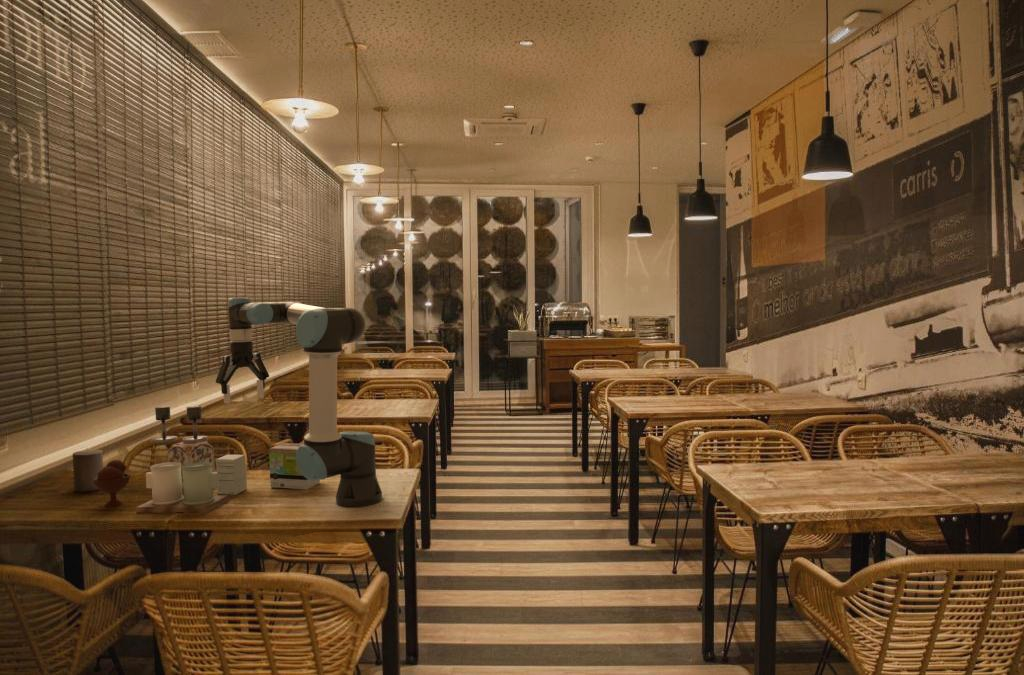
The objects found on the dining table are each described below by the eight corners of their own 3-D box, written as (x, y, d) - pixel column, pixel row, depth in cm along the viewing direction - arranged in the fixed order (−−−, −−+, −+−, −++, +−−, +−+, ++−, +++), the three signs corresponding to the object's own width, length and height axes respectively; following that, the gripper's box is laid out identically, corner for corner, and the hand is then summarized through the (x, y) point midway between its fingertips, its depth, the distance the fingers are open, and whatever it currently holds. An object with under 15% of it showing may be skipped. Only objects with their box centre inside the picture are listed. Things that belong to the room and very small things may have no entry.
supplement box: (229, 488, 264) (227, 454, 263) (247, 489, 263) (246, 454, 262) (216, 494, 257) (215, 458, 256) (235, 494, 255) (234, 459, 255)
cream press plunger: (182, 438, 246) (180, 405, 245) (168, 443, 238) (166, 409, 237) (160, 438, 246) (158, 405, 246) (145, 443, 238) (143, 409, 238)
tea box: (269, 488, 263) (267, 448, 262) (284, 481, 273) (282, 442, 272) (307, 490, 259) (305, 449, 258) (321, 482, 269) (319, 443, 268)
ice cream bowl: (106, 500, 253) (104, 457, 252) (138, 499, 252) (135, 456, 252) (88, 509, 242) (85, 464, 241) (121, 508, 242) (118, 464, 241)
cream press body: (189, 497, 247) (187, 462, 247) (173, 505, 238) (171, 468, 237) (157, 496, 249) (155, 462, 248) (139, 505, 239) (137, 468, 238)
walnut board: (228, 500, 248) (228, 495, 248) (206, 512, 234) (206, 507, 234) (162, 500, 251) (161, 495, 251) (136, 512, 237) (136, 507, 237)
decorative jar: (194, 479, 279) (192, 433, 278) (216, 482, 274) (214, 435, 272) (167, 487, 268) (165, 439, 267) (190, 490, 263) (187, 441, 262)
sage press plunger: (177, 443, 237) (175, 408, 236) (190, 438, 245) (189, 405, 244) (200, 443, 236) (198, 408, 236) (213, 438, 244) (211, 404, 244)
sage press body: (177, 505, 238) (175, 468, 237) (193, 497, 247) (191, 462, 246) (210, 505, 236) (208, 468, 236) (225, 497, 246) (223, 462, 245)
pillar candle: (72, 493, 263) (70, 452, 262) (76, 487, 272) (74, 447, 271) (103, 490, 267) (101, 449, 266) (105, 484, 276) (103, 444, 275)
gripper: (264, 338, 272) (267, 395, 273) (202, 343, 251) (206, 404, 253) (277, 338, 267) (280, 396, 269) (215, 343, 247) (218, 405, 248)
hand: (244, 400), depth 261 cm, fingers open, 13 cm apart
